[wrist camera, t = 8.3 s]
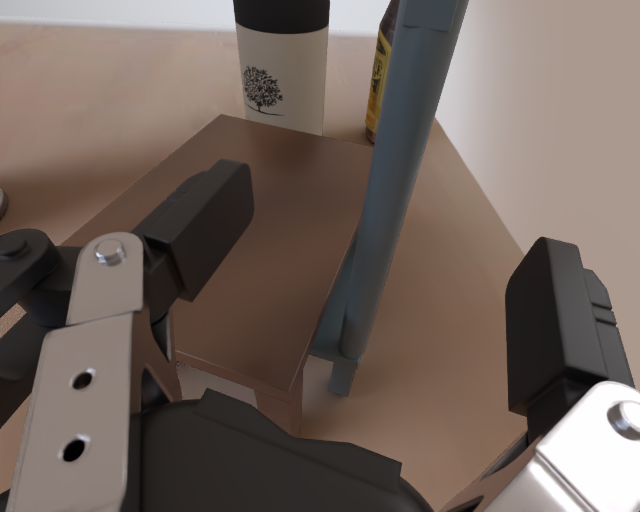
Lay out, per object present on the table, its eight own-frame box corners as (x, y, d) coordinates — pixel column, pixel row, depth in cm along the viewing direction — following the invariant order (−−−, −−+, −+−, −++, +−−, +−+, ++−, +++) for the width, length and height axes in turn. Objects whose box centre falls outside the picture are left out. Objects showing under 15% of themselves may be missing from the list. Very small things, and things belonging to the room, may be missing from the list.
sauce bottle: (370, 121, 47) (404, -87, 32) (417, 132, 45) (474, -81, 31) (356, 144, 42) (388, -84, 28) (407, 156, 41) (468, -77, 26)
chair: (202, 347, 23) (20, -109, 8) (266, 246, 30) (235, -108, 14) (350, 400, 21) (488, -65, 6) (383, 280, 28) (490, -87, 13)
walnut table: (94, 378, 21) (5, 288, 15) (235, 206, 33) (220, 113, 27) (291, 458, 19) (289, 392, 12) (368, 241, 31) (387, 149, 24)
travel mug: (289, 132, 44) (286, -63, 30) (335, 159, 40) (354, -50, 27) (236, 154, 40) (205, -60, 26) (281, 186, 36) (272, -44, 23)
